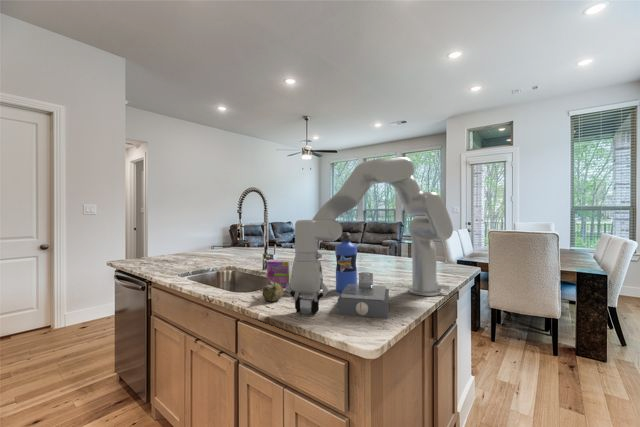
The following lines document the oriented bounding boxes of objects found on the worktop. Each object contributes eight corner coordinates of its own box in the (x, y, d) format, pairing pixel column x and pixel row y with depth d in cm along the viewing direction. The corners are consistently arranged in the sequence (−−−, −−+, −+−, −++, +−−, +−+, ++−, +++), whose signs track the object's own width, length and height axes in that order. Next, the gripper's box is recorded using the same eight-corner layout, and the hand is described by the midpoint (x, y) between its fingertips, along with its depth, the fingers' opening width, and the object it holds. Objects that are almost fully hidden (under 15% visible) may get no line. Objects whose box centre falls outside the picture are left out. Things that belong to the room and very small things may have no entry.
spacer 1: (316, 311, 97) (316, 296, 97) (312, 316, 92) (311, 301, 92) (302, 310, 98) (302, 295, 98) (297, 315, 93) (297, 300, 93)
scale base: (388, 302, 106) (388, 289, 106) (387, 318, 90) (387, 302, 90) (345, 299, 110) (345, 286, 110) (337, 314, 94) (337, 299, 94)
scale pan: (385, 289, 105) (385, 286, 105) (384, 300, 92) (384, 297, 92) (348, 287, 109) (348, 284, 109) (341, 297, 95) (341, 294, 95)
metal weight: (373, 286, 105) (373, 272, 105) (372, 289, 101) (372, 275, 101) (359, 285, 107) (359, 271, 107) (358, 288, 102) (358, 274, 102)
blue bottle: (356, 294, 117) (355, 233, 117) (333, 292, 120) (333, 232, 120) (358, 288, 127) (358, 231, 127) (337, 287, 129) (337, 231, 129)
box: (267, 287, 130) (266, 261, 130) (271, 284, 136) (271, 259, 136) (289, 288, 128) (288, 261, 128) (292, 284, 134) (292, 259, 134)
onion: (286, 301, 109) (286, 280, 109) (266, 304, 105) (266, 282, 105) (279, 296, 115) (279, 276, 115) (260, 299, 112) (259, 278, 112)
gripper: (334, 256, 97) (334, 310, 97) (286, 254, 101) (287, 306, 101) (329, 259, 89) (329, 318, 89) (278, 258, 94) (278, 313, 94)
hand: (306, 311), depth 95 cm, fingers closed on spacer 1, 5 cm apart
